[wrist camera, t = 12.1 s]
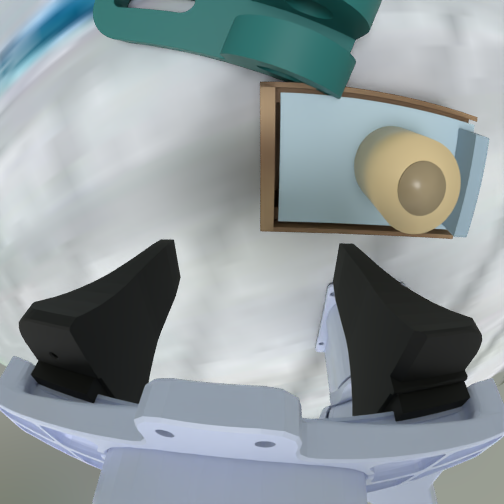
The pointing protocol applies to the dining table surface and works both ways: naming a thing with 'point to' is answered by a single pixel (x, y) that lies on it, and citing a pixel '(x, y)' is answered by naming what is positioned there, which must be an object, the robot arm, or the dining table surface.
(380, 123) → the lid
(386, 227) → the pencil box
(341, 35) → the bracket
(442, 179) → the tape roll
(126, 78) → the dining table surface
